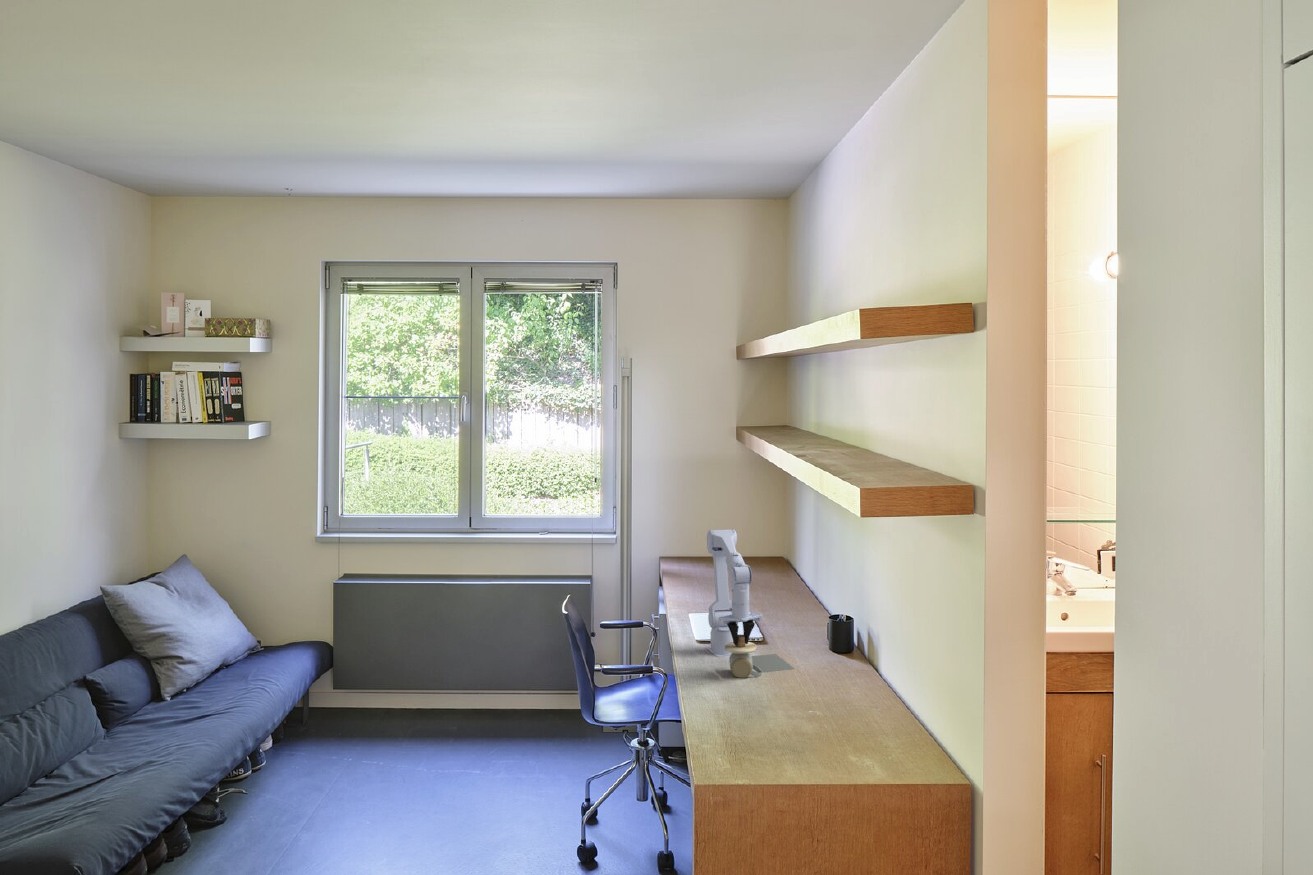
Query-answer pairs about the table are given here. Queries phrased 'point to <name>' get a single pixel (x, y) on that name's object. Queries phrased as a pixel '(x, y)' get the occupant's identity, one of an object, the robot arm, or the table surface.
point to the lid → (741, 646)
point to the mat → (770, 663)
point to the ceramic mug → (743, 665)
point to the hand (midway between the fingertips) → (740, 643)
